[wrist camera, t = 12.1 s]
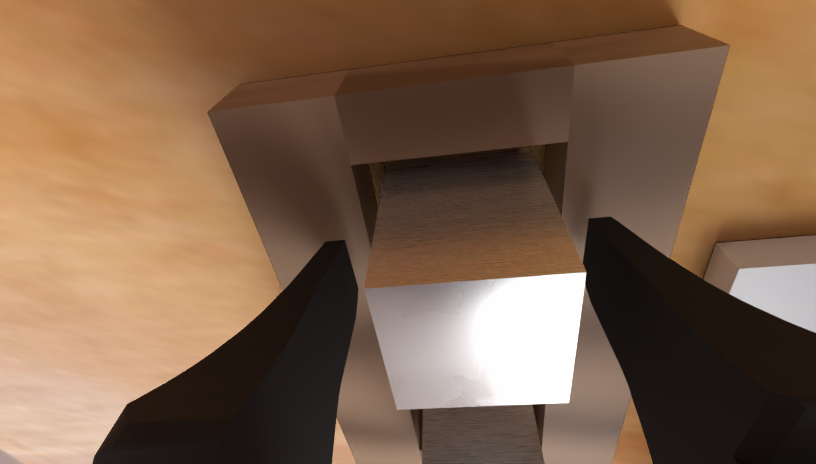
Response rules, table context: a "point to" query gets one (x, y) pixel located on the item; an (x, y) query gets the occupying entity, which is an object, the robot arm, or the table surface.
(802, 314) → the shallow grey tray
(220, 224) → the table surface
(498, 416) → the seated billet
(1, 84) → the table surface
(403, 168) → the billet
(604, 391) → the board
